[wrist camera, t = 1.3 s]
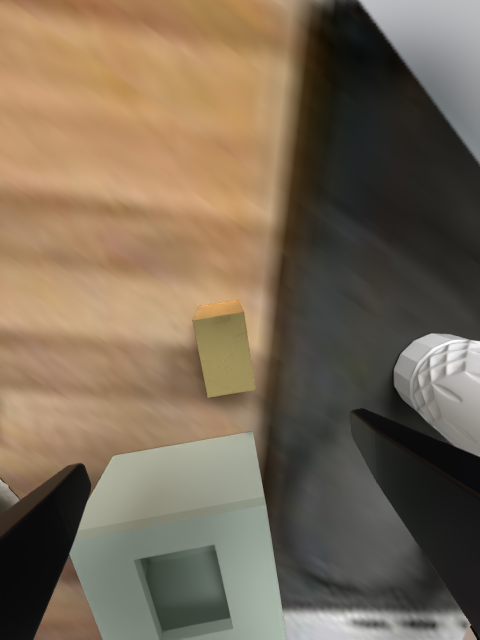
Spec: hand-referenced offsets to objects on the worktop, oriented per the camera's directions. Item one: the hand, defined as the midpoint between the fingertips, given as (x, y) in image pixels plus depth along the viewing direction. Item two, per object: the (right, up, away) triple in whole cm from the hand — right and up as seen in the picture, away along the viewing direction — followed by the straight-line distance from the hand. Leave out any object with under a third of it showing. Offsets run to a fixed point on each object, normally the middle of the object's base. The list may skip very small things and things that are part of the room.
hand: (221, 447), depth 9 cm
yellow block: (-1, +3, +12) cm, 12 cm away
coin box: (-3, -12, +15) cm, 20 cm away
